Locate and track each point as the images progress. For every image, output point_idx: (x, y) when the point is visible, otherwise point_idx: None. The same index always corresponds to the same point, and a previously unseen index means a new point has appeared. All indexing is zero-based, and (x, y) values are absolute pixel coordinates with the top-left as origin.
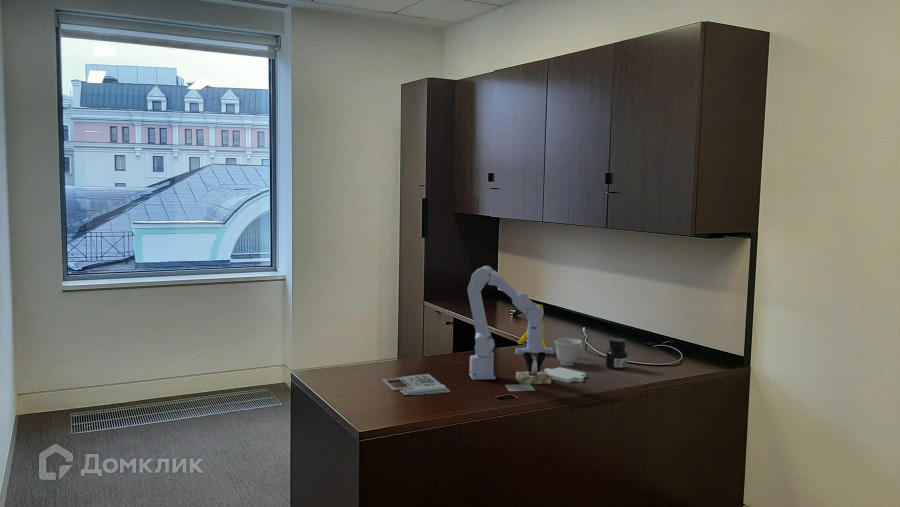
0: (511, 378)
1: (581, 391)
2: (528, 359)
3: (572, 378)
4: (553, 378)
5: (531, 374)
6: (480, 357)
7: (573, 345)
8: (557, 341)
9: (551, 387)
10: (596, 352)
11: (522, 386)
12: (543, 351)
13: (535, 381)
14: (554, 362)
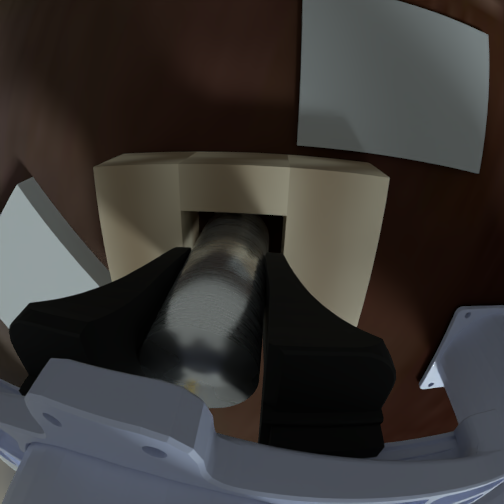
0: (363, 319)
1: (13, 18)
2: (326, 324)
3: (2, 214)
4: (92, 260)
5: (260, 236)
6: None
7: None
8: None
9: (141, 70)
10: None
11: (379, 98)
12: (5, 393)
13: (244, 156)
14: None
